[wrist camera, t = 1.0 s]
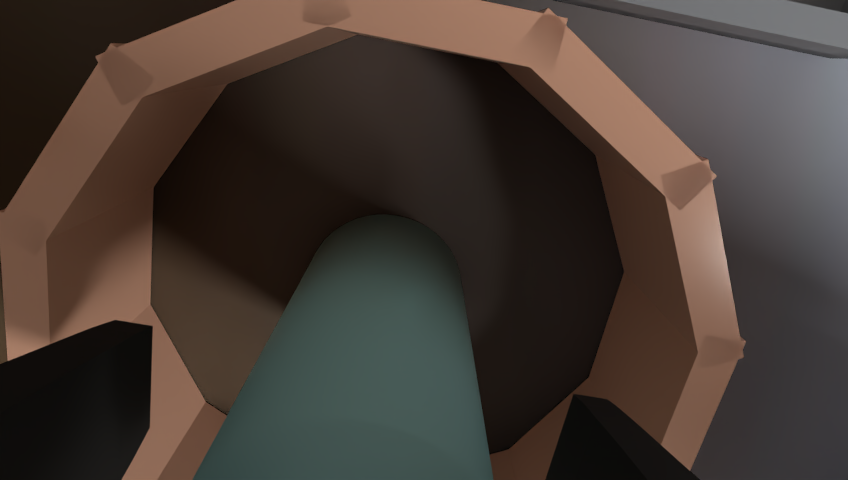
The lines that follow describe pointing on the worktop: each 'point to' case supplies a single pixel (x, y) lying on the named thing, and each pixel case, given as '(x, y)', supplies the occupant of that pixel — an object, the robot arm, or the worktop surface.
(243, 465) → the peg
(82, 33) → the worktop surface
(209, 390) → the worktop surface
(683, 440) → the tan faceted hollow ring
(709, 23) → the tray
